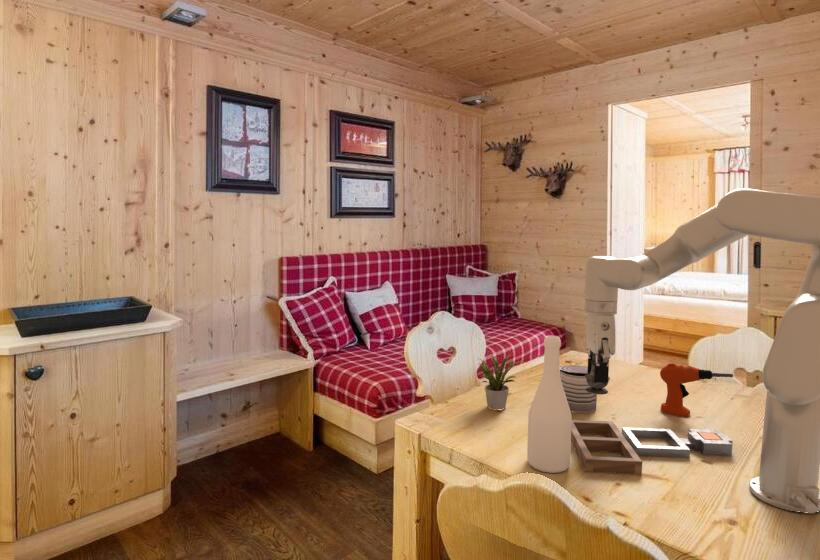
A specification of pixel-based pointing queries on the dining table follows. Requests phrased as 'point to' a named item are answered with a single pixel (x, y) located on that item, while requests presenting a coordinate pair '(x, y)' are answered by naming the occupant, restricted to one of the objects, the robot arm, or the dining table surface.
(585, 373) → the can
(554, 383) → the wine bottle
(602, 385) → the chess piece
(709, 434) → the button
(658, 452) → the grey flat frame piece
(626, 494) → the dining table surface
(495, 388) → the house plant
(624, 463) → the walnut rack
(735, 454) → the dining table surface
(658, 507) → the dining table surface
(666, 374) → the toy drill
